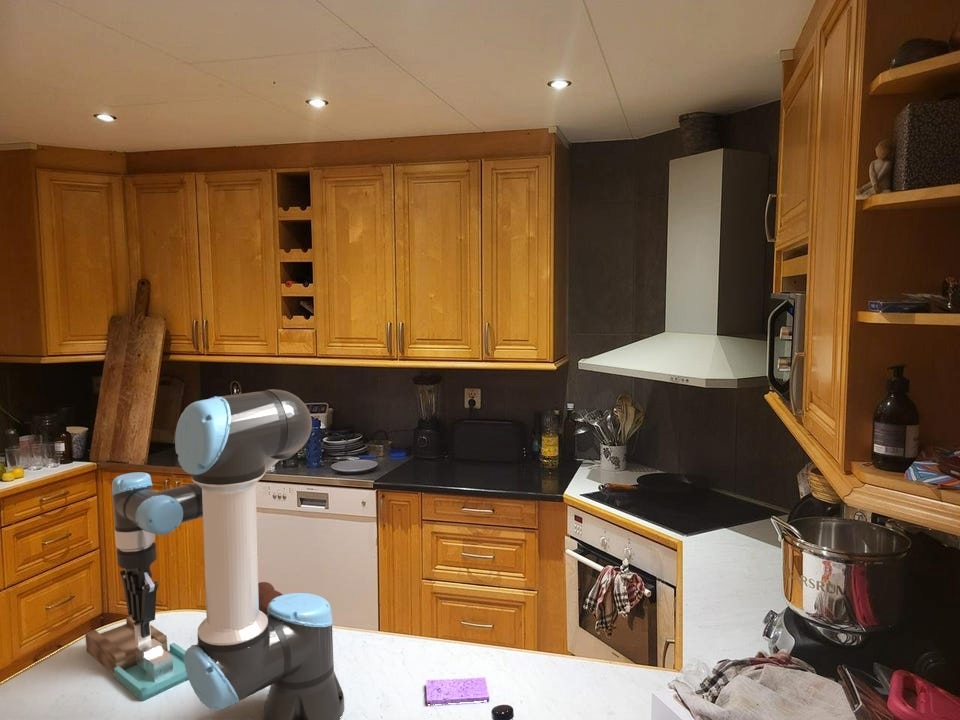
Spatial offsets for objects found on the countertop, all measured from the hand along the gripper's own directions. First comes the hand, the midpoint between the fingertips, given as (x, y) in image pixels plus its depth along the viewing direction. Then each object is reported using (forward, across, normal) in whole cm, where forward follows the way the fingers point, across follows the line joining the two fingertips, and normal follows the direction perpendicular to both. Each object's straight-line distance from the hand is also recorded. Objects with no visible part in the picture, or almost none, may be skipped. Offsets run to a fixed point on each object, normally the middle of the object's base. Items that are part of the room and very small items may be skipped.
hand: (143, 648), depth 147 cm
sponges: (+5, -60, -35) cm, 70 cm away
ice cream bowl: (+4, -14, -21) cm, 26 cm away
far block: (+2, -3, 0) cm, 3 cm away
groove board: (+4, +9, 0) cm, 10 cm away
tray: (+4, -6, 0) cm, 7 cm away
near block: (+1, -5, 0) cm, 5 cm away
